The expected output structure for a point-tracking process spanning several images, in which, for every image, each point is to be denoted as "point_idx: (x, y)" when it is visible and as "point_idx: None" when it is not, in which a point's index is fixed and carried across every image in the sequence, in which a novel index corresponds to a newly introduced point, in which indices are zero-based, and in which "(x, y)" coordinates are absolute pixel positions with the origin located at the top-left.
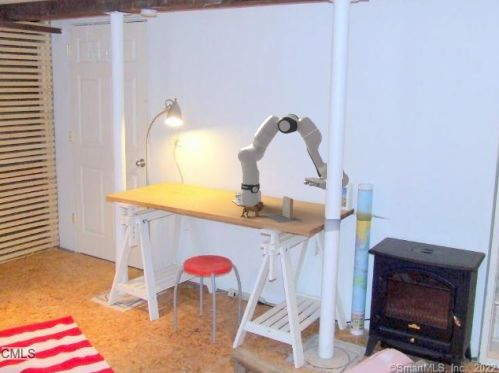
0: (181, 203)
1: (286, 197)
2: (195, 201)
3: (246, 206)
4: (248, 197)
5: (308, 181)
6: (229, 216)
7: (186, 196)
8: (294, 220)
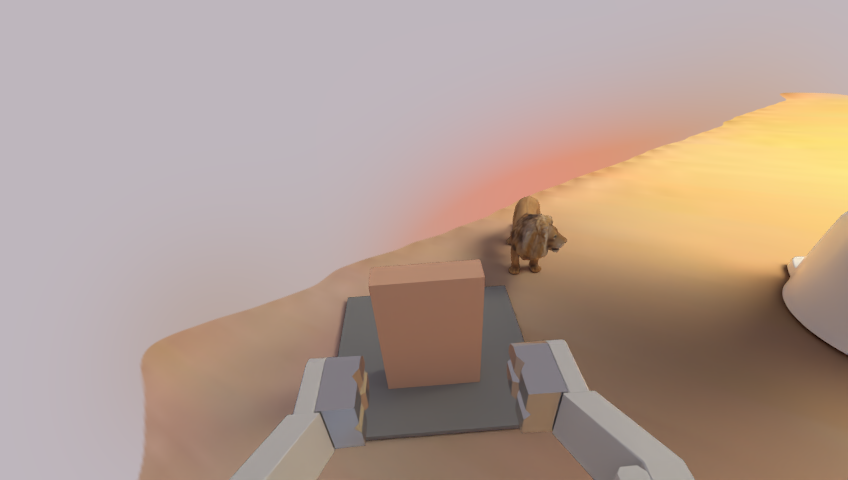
0: (757, 153)
1: (443, 267)
2: (823, 176)
3: (525, 197)
4: (828, 254)
5: (621, 473)
6: None
7: None
8: None
